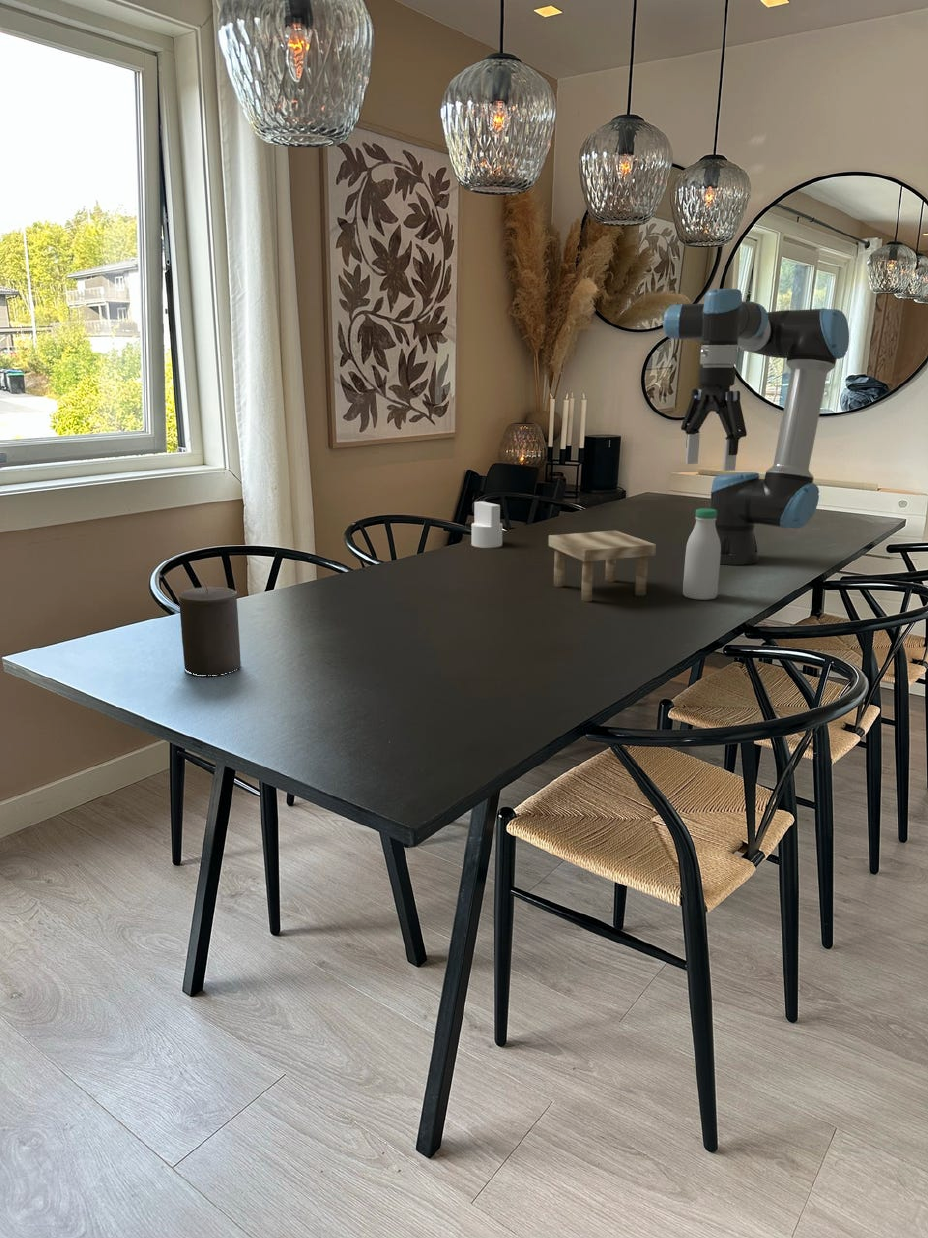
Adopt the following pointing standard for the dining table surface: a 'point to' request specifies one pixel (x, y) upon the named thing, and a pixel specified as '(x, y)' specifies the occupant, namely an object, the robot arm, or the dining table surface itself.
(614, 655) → the dining table surface
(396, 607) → the dining table surface
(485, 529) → the cylinder with rectangular tab
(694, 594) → the milk bottle
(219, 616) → the pillar candle
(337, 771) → the dining table surface
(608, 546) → the oak footstool
